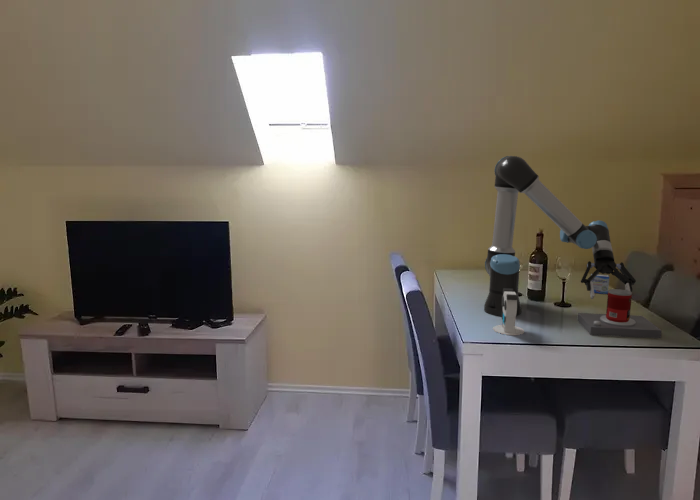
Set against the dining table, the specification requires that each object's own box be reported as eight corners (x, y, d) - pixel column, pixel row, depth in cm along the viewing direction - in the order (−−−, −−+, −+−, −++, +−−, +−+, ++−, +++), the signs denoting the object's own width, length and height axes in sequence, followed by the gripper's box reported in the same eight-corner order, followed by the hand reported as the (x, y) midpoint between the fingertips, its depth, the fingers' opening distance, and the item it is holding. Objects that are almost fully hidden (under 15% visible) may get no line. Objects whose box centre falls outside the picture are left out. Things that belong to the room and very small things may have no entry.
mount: (590, 334, 193) (591, 323, 192) (577, 320, 210) (578, 310, 210) (660, 338, 189) (661, 327, 189) (641, 323, 207) (642, 312, 206)
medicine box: (589, 292, 253) (591, 275, 252) (589, 290, 257) (590, 273, 256) (608, 294, 250) (609, 276, 249) (607, 292, 254) (608, 274, 253)
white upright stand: (491, 324, 205) (492, 287, 202) (521, 325, 203) (523, 288, 201) (494, 334, 193) (496, 295, 191) (526, 336, 192) (529, 296, 189)
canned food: (632, 323, 195) (634, 294, 193) (608, 321, 196) (611, 293, 195) (625, 317, 202) (628, 289, 200) (603, 316, 204) (605, 288, 202)
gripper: (632, 259, 220) (641, 304, 208) (569, 257, 224) (575, 301, 212) (638, 249, 214) (648, 294, 202) (573, 247, 218) (579, 291, 206)
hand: (611, 298), depth 207 cm, fingers open, 13 cm apart
